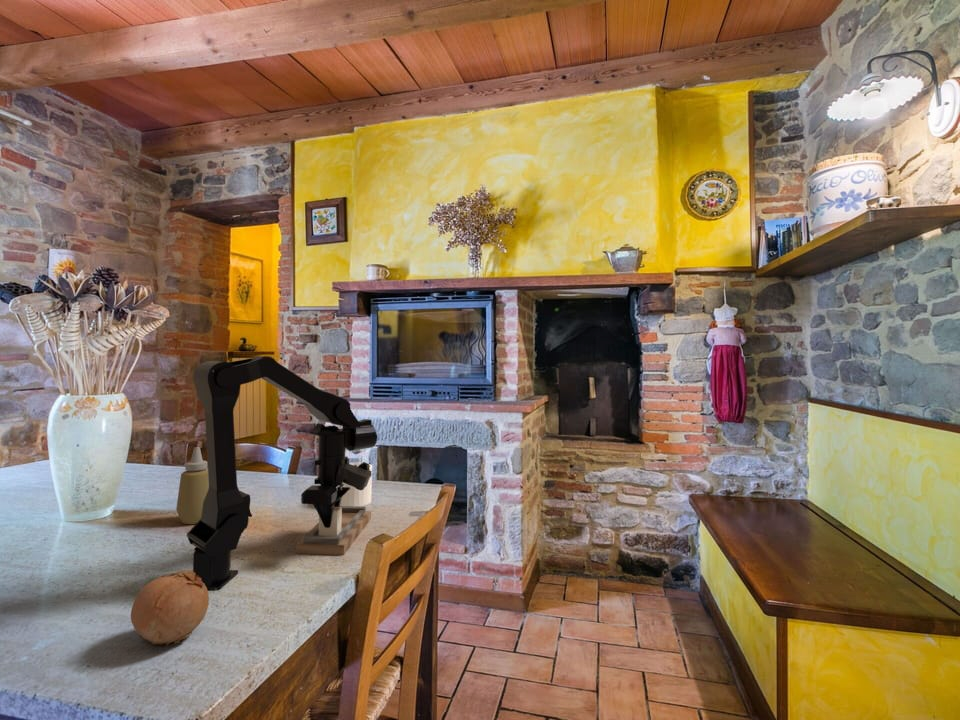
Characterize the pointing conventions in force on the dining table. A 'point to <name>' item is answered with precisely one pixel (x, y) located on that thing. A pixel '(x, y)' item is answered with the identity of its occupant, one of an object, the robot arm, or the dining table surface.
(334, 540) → the brown wooden tray
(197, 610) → the onion
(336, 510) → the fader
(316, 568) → the dining table surface
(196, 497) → the squeeze bottle
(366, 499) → the mug
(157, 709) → the dining table surface
